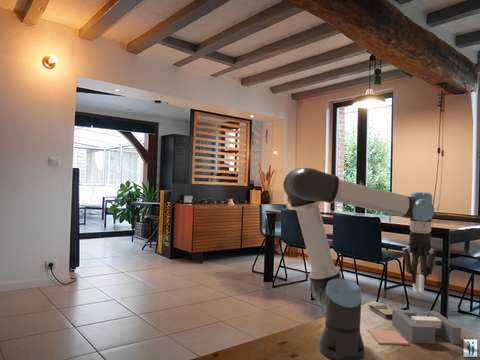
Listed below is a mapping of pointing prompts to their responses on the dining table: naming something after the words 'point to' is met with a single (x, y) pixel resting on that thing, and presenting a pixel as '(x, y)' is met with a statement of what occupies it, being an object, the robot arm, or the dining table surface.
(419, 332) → the pocket plate
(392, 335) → the terracotta mat
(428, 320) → the cream bar
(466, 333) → the dining table surface
